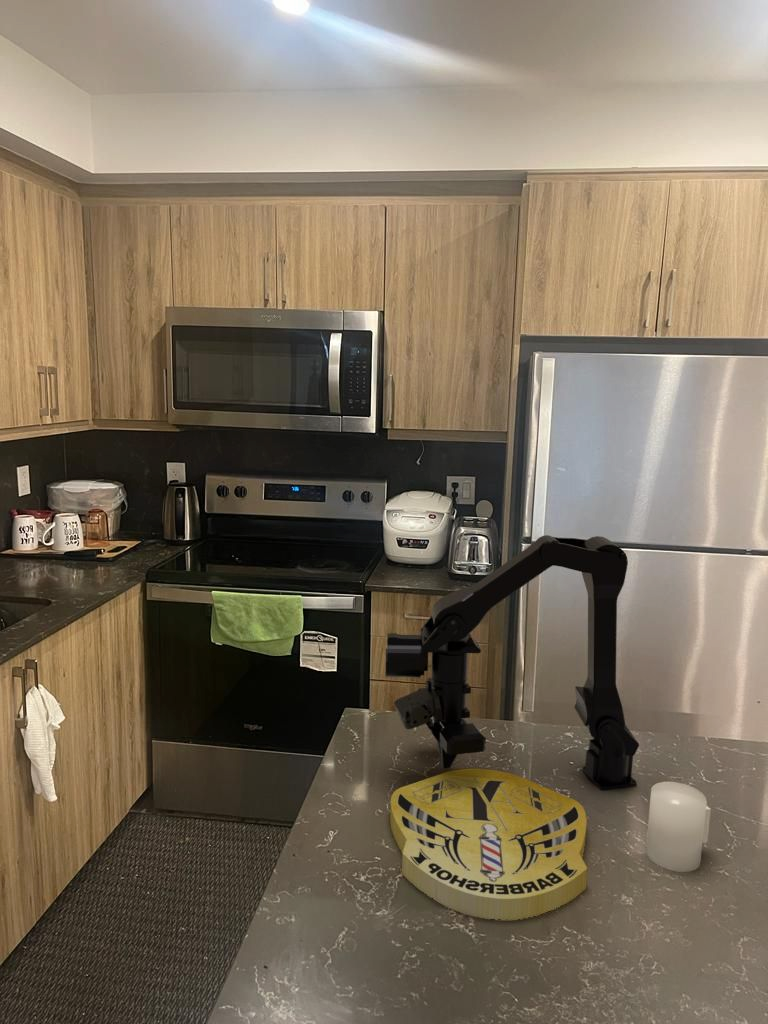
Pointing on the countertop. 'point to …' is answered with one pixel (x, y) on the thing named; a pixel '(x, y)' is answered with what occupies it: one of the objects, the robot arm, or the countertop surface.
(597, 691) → the robot arm
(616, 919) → the countertop surface
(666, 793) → the night light
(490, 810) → the sign
